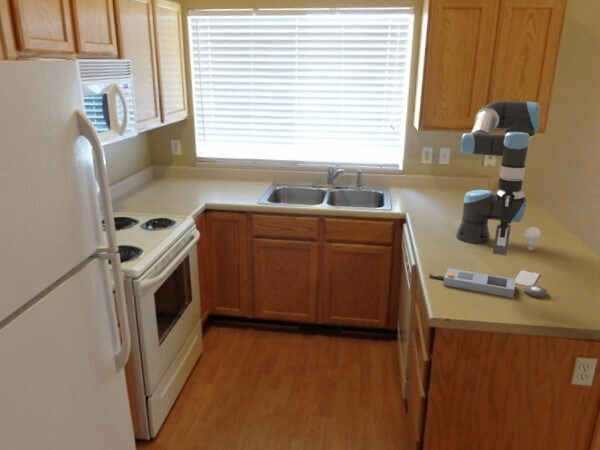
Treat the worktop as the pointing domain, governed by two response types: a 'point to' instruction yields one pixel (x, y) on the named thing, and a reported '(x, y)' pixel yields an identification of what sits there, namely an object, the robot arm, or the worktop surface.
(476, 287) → the power strip
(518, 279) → the smartphone
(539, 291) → the grey disc with dome
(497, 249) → the brick
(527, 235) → the lightbulb
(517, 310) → the worktop surface
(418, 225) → the worktop surface
